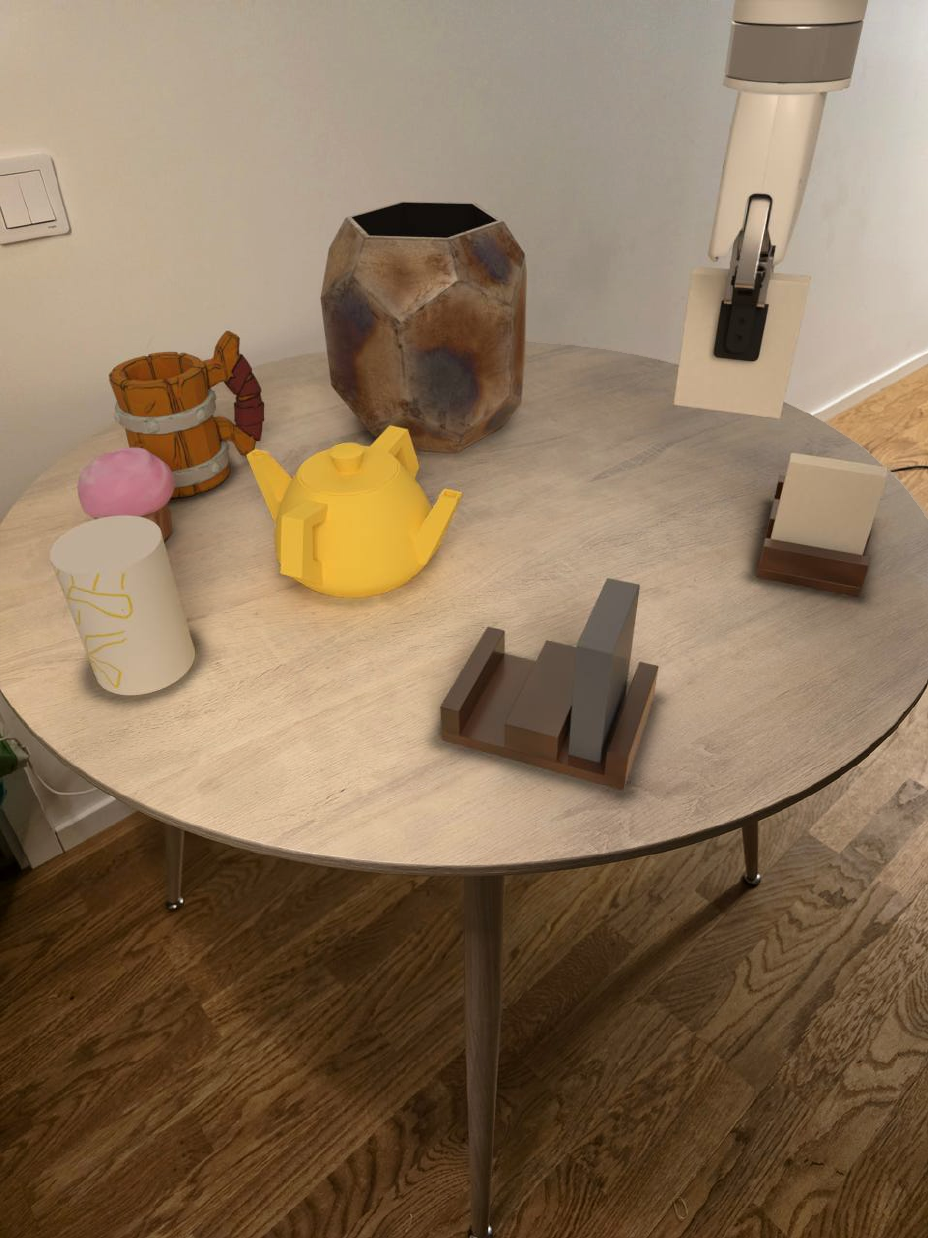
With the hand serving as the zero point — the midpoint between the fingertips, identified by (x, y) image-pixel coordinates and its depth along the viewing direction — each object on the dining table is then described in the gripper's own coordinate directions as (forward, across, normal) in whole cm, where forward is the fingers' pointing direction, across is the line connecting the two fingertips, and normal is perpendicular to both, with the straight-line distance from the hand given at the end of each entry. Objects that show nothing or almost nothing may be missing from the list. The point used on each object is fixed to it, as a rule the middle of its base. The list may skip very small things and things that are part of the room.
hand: (737, 349), depth 64 cm
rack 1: (+23, +19, -8) cm, 31 cm away
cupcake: (+23, +9, -54) cm, 59 cm away
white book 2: (+22, -8, +10) cm, 25 cm away
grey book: (+22, +19, -4) cm, 30 cm away
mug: (+23, -6, -56) cm, 61 cm away
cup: (+23, +24, -42) cm, 54 cm away
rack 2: (+23, -12, +10) cm, 28 cm away
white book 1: (+5, 0, 0) cm, 5 cm away
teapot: (+23, +4, -32) cm, 40 cm away
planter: (+23, -26, -36) cm, 50 cm away
